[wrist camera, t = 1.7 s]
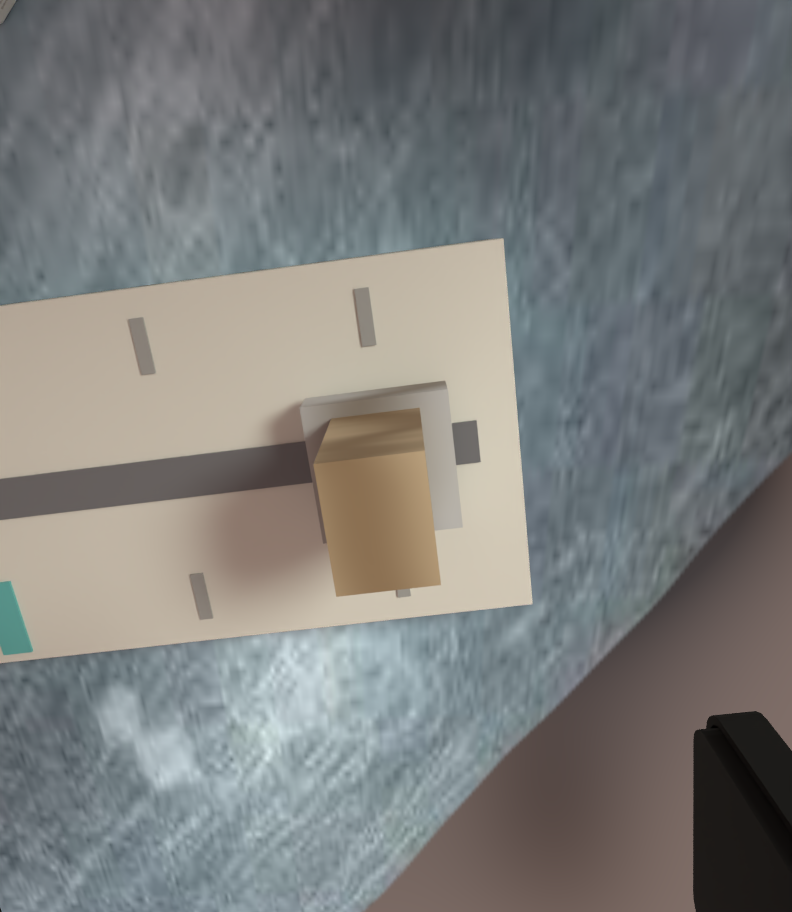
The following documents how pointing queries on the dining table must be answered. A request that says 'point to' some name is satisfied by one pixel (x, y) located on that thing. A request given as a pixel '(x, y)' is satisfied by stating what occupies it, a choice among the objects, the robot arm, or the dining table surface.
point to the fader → (383, 483)
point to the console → (239, 448)
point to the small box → (5, 8)
